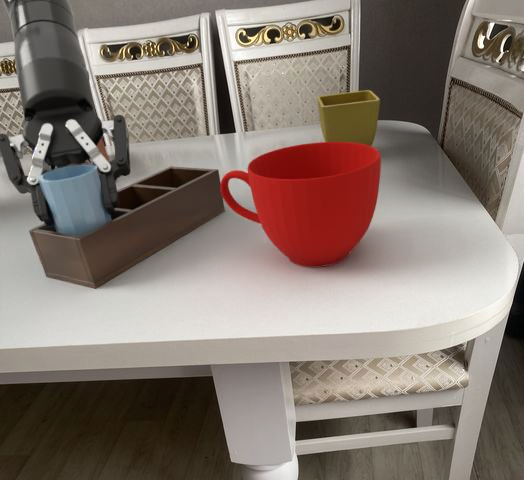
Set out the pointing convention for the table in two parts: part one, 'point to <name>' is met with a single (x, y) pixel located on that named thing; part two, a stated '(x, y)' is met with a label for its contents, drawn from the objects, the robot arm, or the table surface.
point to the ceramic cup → (312, 198)
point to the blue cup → (75, 198)
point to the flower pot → (349, 117)
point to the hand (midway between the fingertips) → (79, 215)
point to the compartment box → (132, 226)
